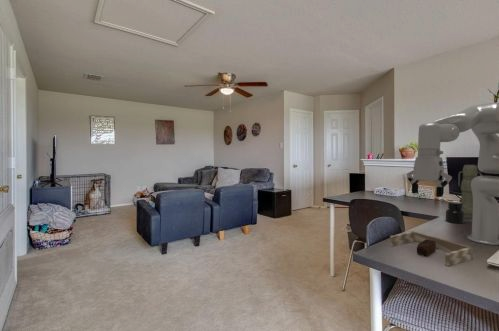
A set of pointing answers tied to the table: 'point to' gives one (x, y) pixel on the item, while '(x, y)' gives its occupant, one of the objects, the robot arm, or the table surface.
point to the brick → (426, 248)
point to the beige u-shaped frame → (437, 246)
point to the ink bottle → (455, 213)
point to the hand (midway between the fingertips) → (426, 194)
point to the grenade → (467, 188)
